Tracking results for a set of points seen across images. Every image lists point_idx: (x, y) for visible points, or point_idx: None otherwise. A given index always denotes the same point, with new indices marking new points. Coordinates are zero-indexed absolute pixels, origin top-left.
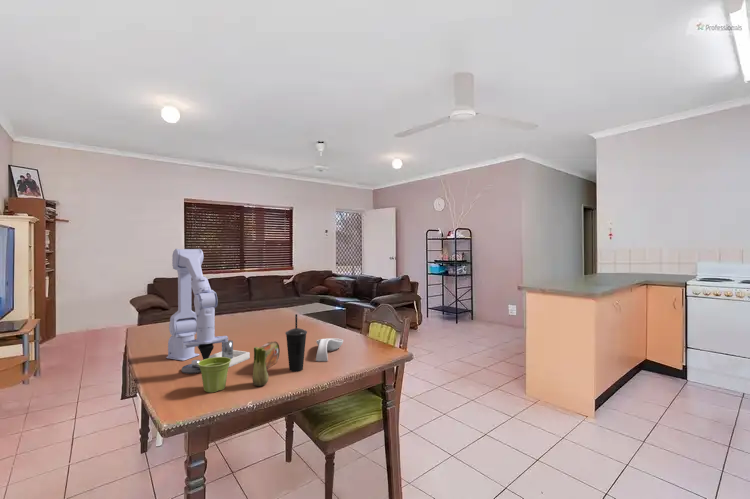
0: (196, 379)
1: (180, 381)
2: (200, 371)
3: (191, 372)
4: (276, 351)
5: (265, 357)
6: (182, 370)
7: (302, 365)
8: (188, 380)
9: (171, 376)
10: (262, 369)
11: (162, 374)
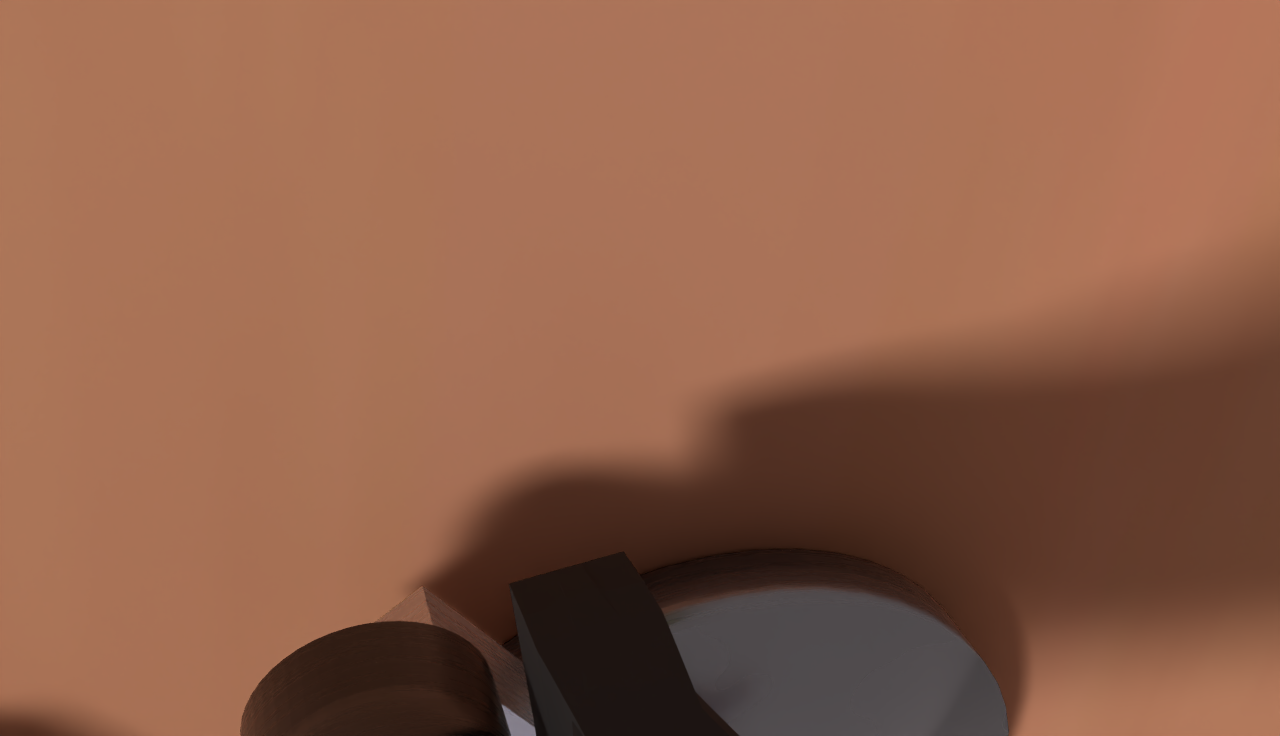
0: (839, 19)
1: (1215, 76)
2: None
3: (851, 578)
4: None
5: None
6: (997, 716)
7: None
8: (1043, 50)
9: (1202, 522)
10: None
11: (1257, 672)
